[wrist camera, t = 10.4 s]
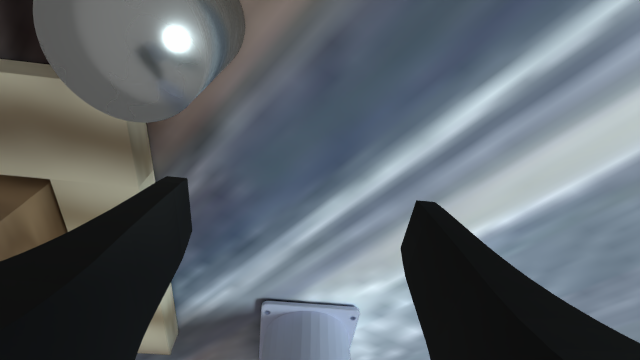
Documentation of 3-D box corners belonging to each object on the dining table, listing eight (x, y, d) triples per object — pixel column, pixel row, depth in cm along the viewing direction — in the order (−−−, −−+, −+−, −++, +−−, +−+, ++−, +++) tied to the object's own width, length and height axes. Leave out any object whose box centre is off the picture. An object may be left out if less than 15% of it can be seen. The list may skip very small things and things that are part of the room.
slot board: (178, 332, 29) (170, 354, 27) (6, 321, 28) (-14, 344, 26) (138, 75, 18) (119, 85, 16) (-155, 40, 17) (-209, 48, 15)
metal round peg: (244, 77, 18) (208, 129, 12) (147, 66, 17) (59, 114, 11) (245, -33, 15) (199, -39, 9) (131, -50, 15) (6, -67, 9)
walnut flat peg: (82, 233, 23) (2, 323, 17) (37, 229, 23) (-61, 319, 17) (63, 171, 21) (-39, 251, 15) (12, 166, 20) (-115, 245, 14)
